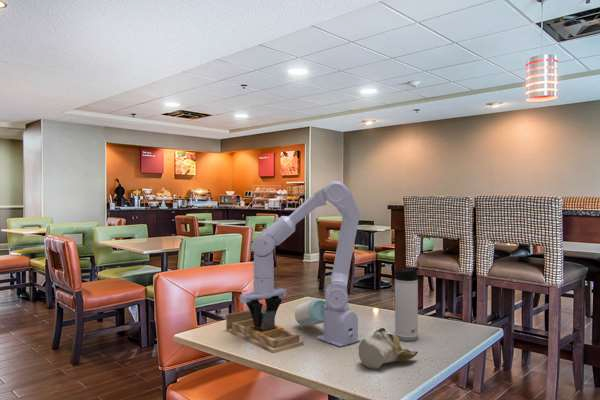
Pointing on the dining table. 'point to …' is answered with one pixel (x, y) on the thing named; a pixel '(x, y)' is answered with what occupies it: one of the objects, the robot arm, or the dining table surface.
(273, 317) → the grey block
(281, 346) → the tray
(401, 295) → the travel mug
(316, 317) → the can
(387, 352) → the ceramic sculpture
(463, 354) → the dining table surface
